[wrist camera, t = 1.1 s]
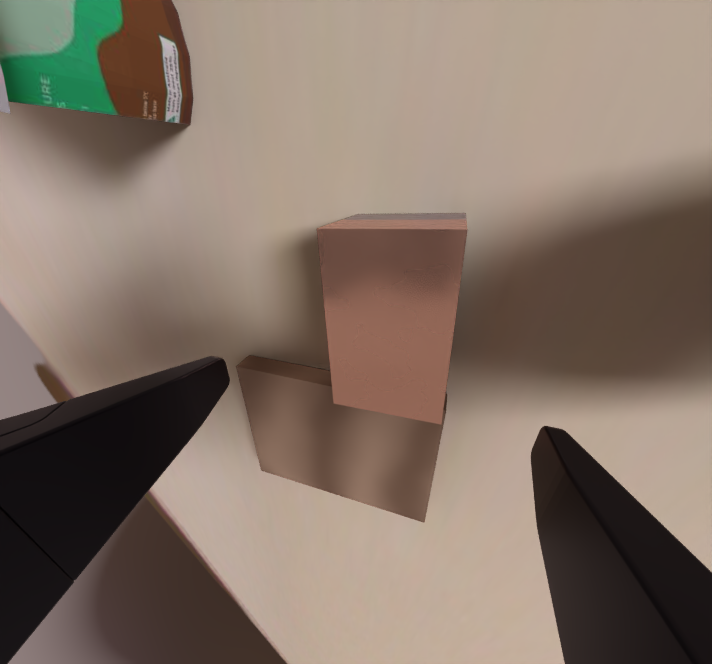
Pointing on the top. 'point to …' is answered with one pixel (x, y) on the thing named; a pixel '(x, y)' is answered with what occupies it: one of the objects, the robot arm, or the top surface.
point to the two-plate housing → (392, 309)
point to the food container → (96, 57)
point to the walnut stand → (337, 439)
